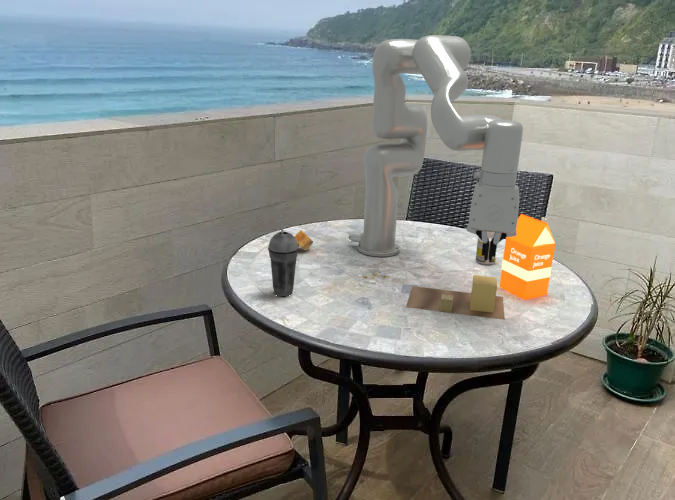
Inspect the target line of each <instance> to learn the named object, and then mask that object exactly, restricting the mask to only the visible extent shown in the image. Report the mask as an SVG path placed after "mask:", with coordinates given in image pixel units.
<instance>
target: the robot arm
mask: <svg viewBox="0 0 675 500" xmlns="http://www.w3.org/2000/svg"><path fill="white" fill-rule="evenodd" d="M373 52H374V53H373V55H372V64H371V66H372V76H373V83H374V88H373V89H374V91H373V104H372V115H371V130H372V133H373V135H374V136H375V137H376V138H378V139H382V140H399V139H400V140H402V142H386V143H385V142H384V143H383V142H382V143H376V144H372V145H371V146H369V147H368V148H367V149H366V150H365V151H364V154H363V161H362V162H363V168H364V178H365V181H364V182H365V188H364V190H365V193H364V212H363V213H364V214H363V215H364V216H363V230H362V231H363V232H362V233H359V234H356V233H349V235H348V240H350V242H352V243H353V242H354V243H358V244H357V250H358V252H359V253H362V254H363V255H366V256H371V257H378V258H380V257H381V258H384V257H385V258H386V257H392V256H396V255H398V254H399V253H400V252H401V248H400V246H399V244H397V243H396V234H397V232H396V231H397V219H398V216H397V215H398V205H399V204H398V201H399V190H398V188H397V186H396V184H395V183H394V181H393V178H396V177H406V176H408V177H409V176H413V175H416V174H418V173H419V172H420V170H422V167H423V163H424V160H425V150H426V142H427V135H428V134H427V132H428V117H427V113H426V111H425V109H424V108H423V107H422V106H421V105H419V104H416V103H406V102H405V101H406V91H407V89H406V85H405V81H404V80H403V77H402V76H401V74H405V75H407V74H409V75H422V77H423V79H424V80H425V82H426V84H427V86H428V87H429V89H430V91H431V93H432V94H433V97H432V100H431V105H430V116H431V117H430V118H431V123H432V126H433V128H434V129H435V131H436V133H437V135H438V136H439V138H440V140H441V141H442V142H443V144H444V145H445V146H446V147H447V148H449V149H450V150H452V151H456V152H457V151H458V152H461V151H462V152H463V151H475V150H476V151H479V150H481V151H483V152H482V158H481V159H482V160H481V165H480V166H481V169H480V170H479V171H474V172H473V178H474V179H477V180H478V182H476V184H475V185H474V190H473V195H472V197H471V198H472V199H471V203H470V204H471V205H470V210H469V216H468V218H469V219H468V224H467V227H466V231H467V232H468V233H471V234H474V235H476V236H477V238H478V237H479V238H480V239H481V240H482V242H483V245H482V254H481V255H483V256H484V260H485V261H487V260H488V259H489V261H492V256H493V257H495V258H496V254H497V246H498V244H500V242H502V241H503V240H504V239H506V237H514V236H516V235H517V233H516V227H517V221H518V218H519V209H520V208H519V207H520V187H519V186H518V185H516V183H517V176H518V168H519V161H520V153H521V147H522V140H523V132H524V128H523V125H522V123H521V122H519V121H516V120H512V119H503V118H501V117H499V116H497V115H492V114H469V115H468V114H465V115H464V114H463V115H460V114H459V113H458V112H457V111H456V109H455V107H454V105H453V104H452V102H454V101H455V100H457V99H458V98H459V97H461V95H462V94H464V93H465V91H466V89H467V87H468V85H469V77H468V75H467V73H466V72H465V71H464V70H466V69H467V67H468V66H469V64H470V63H471V57H472V53H471V48H470V46H469V43H468V42H467V41H466V40H465V39H464V38H463V37H461V36H456V35H439V34H437V35H436V34H431V35H426V36H422V37H421V38H419V39H414V38H413V39H411V38H393V39H392V38H391V39H386V40H383V41H382V42H380V43H379V44H378V45H377V46H376V48H375V50H374V51H373ZM487 231H489V232H495V233H494V236H493V238H492V240H491V241H490V244H489V238H488V237H487ZM489 245H490V248H489ZM488 253H489V256H488Z"/></svg>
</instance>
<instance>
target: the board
mask: <svg viewBox="0 0 675 500" xmlns="http://www.w3.org/2000/svg"><path fill="white" fill-rule="evenodd" d="M410 288H411V289H410V293H409V294H408V295H409V296H408V298H407V299H408V300H407V303H406V305H405V307H406V308H409V309H417V310H426V311H433V312H441V313H445V312H444V311H440V305H441V296H442V295H451V296H453V303H452V312H447V313H448V314H458V315H464V316H473V317H480V318H488V319H497V320H502V321H504V320H506V318H505V316H506V315H505V306H504V296H501V295H500V296H499V295H496V298H495V305H494V313H492V312H483V311H475V310H470V300H471V292H466V291H456V290H451V289H450V290H449V289H442V288H434V287H433V288H431V287H425V286H424V287H423V286H417V285H416V286H415V285H412V286H411V287H410Z"/></svg>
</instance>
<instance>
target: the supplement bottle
mask: <svg viewBox="0 0 675 500" xmlns="http://www.w3.org/2000/svg"><path fill="white" fill-rule="evenodd" d="M494 233H495V232H489V231H487V237H488V238H489V244H490V241H491V240H492V238H493V236H494ZM482 245H483V242H482V240H481V239H480V238H479V237H478V236H477V244H476V253H475V254H476V255H475V262H476V263H478V264H481V265H487V266H489V265H493V264H494V263H495V262H496V256H495V257H493V256H492V261H489V259H488V260H487V261H485V260H484V256H483V255H481V254H482ZM489 248H490V245H489ZM488 256H489V253H488Z"/></svg>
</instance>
